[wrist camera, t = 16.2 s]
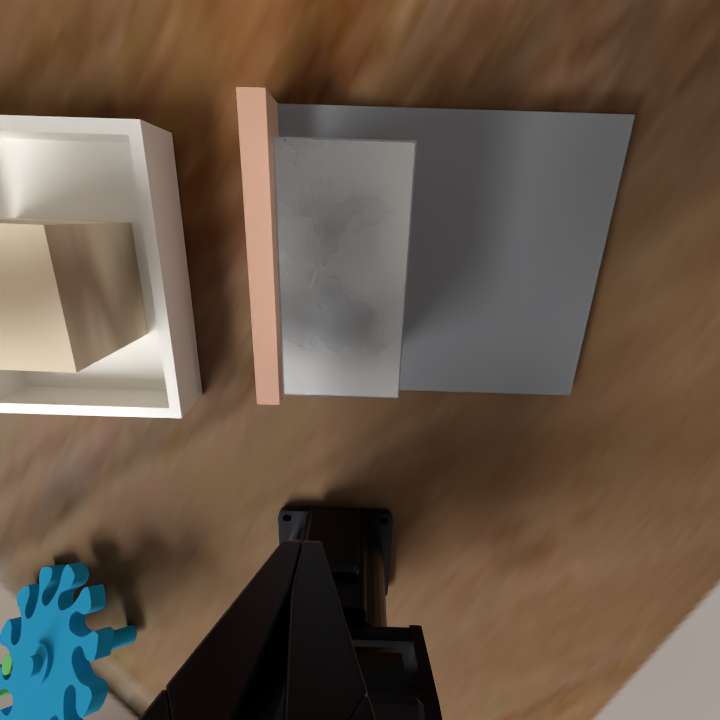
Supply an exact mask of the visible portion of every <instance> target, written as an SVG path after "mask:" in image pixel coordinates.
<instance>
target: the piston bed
mask: <svg viewBox="0 0 720 720" xmlns="http://www.w3.org/2000/svg"><path fill="white" fill-rule="evenodd" d="M236 93H237V108H238V123H239V138H240V154H241V169H242V184H243V199H244V214H245V229H246V244H247V260H248V275H249V290H250V305H251V320H252V335H253V350H254V365H255V381H256V396H257V404H270V405H280V403H281V400H282V398H283V396H284V395H283V378H282V353H281V329H280V304H279V279H278V255H277V230H276V206H275V181H274V157H273V136H281V137H313V138H345V139H377V140H409V141H417V145H416V160H415V174H414V189H413V203H412V217H411V232H410V246H409V261H408V275H407V289H406V304H405V318H404V333H403V347H402V361H401V376H400V390H413V391H445V392H478V393H510V394H542V395H570V394H571V390H572V385H573V381H574V377H575V372H576V368H577V364H578V359H579V355H580V351H581V346H582V342H583V338H584V334H585V329H586V325H587V321H588V316H589V312H590V308H591V303H592V299H593V295H594V290H595V286H596V282H597V277H598V273H599V269H600V265H601V260H602V256H603V252H604V247H605V243H606V239H607V234H608V230H609V226H610V221H611V217H612V213H613V208H614V204H615V200H616V195H617V191H618V187H619V183H620V178H621V174H622V170H623V165H624V161H625V157H626V152H627V148H628V144H629V139H630V135H631V131H632V126H633V122H634V118H635V115H632V114H599V113H567V112H535V111H503V110H471V109H439V108H407V107H375V106H343V105H311V104H279V103H277V102H276V101H275V100H274V98H273V97H272V96H271V94H270V93H269V92H268V91H267V89H266V88H254V87H236Z"/></svg>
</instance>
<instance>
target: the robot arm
mask: <svg viewBox="0 0 720 720" xmlns="http://www.w3.org/2000/svg"><path fill="white" fill-rule="evenodd" d="M286 514H287V515H290V517H287V516H285V515H286ZM381 518H387V519H384V520H382V519H381ZM392 523H393V520H392V513H391V512H390V511H389V510H386V509H366V508H334V507H301V506H285V507H283V508H281V510H280V512H279V516H278V524H279V543H280V545H279V546H278V547H277V549H276V550H275V551H274V552H273V554H272V555H271V556H270V557H269V559H268V560H267V561H266V562H265V564H264V565H263V566H262V567H261V568H260V570H259V571H258V572H257V573H256V575H255V576H254V577H253V578H252V580H251V581H250V582H249V583H248V585H247V586H246V587H245V588H244V590H243V591H242V592H241V593H240V595H239V596H238V597H237V598H236V600H235V601H234V602H233V603H232V604H231V606H230V607H229V608H228V609H227V611H226V612H225V613H224V614H223V616H222V617H221V618H220V619H219V621H218V622H217V623H216V624H215V626H214V627H213V628H212V629H211V631H210V632H209V633H208V634H207V635H206V637H205V638H204V639H203V640H202V642H201V643H200V644H199V645H198V647H197V648H196V649H195V650H194V652H193V653H192V654H191V655H190V657H189V658H188V659H187V660H186V662H185V663H184V664H183V665H182V667H181V668H180V669H179V670H178V671H177V673H176V674H175V675H174V676H173V678H172V679H171V680H170V681H169V683H168V684H167V685H166V690H162V691H161V692H160V693H159V695H158V696H157V697H156V698H155V700H154V701H153V702H152V703H151V705H150V706H149V707H148V708H147V710H146V711H145V712H144V713H143V715H142V716H141V717H140V718H139V719H138V720H442V716H441V710H440V705H439V700H438V696H437V692H436V687H435V683H434V679H433V674H432V670H431V666H430V662H429V657H428V653H427V649H426V644H425V640H424V636H423V632H422V627H421V626H419V625H409V628H408V627H387V618H386V600H385V596H386V595H387V593H388V579H389V565H390V551H391V537H392Z"/></svg>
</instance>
